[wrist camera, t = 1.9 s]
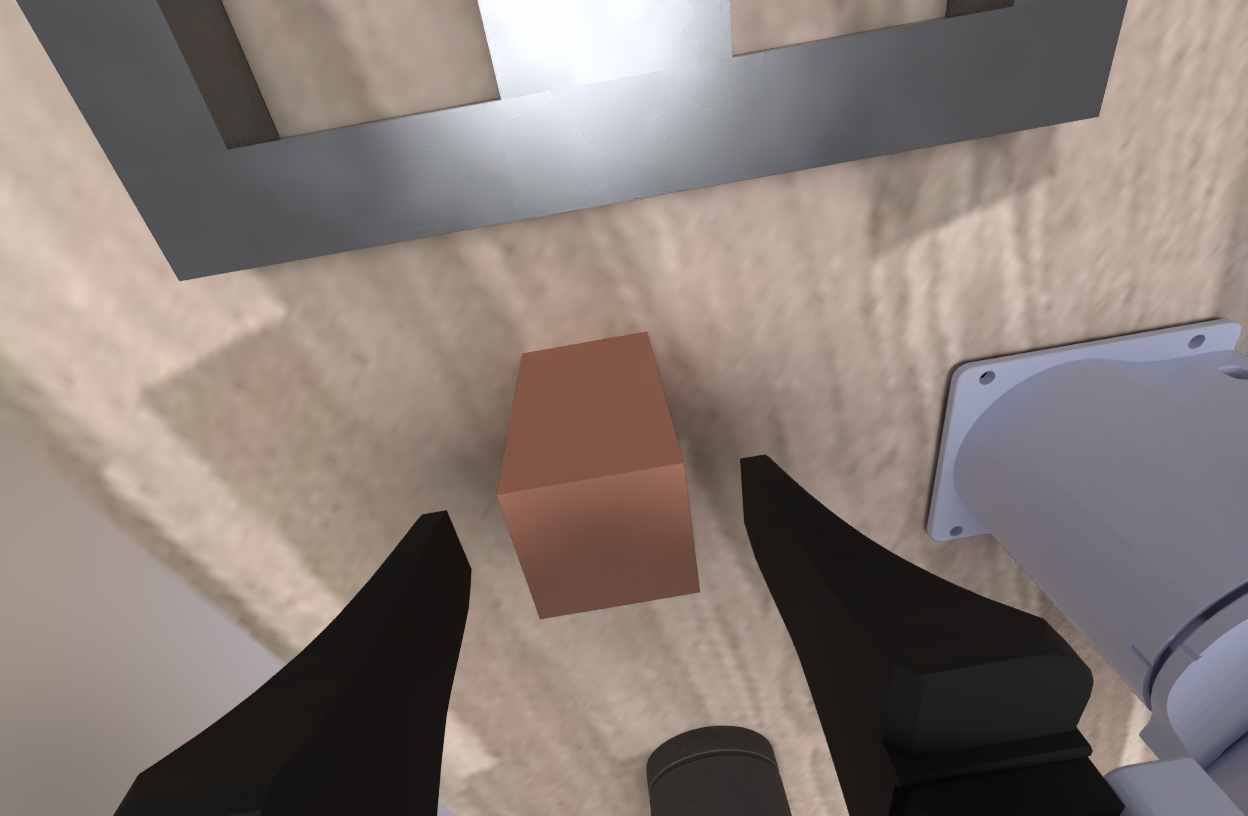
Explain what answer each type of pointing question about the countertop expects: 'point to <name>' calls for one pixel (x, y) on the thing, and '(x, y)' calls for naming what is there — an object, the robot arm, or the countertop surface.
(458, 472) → the countertop surface
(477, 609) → the countertop surface
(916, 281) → the countertop surface
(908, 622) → the robot arm
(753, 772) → the flashlight
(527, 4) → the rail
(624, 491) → the square block
